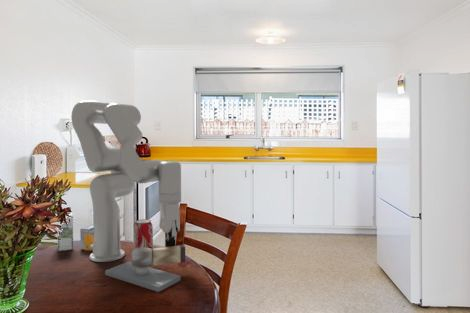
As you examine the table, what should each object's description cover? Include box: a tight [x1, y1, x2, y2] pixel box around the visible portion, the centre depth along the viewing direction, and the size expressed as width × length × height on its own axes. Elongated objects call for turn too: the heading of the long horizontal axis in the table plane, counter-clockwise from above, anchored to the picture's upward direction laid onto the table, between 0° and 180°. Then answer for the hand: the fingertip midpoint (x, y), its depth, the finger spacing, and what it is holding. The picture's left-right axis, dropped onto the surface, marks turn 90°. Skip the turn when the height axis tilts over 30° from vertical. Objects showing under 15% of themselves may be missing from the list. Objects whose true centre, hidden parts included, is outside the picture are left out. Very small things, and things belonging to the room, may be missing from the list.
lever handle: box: [131, 244, 186, 268], centre depth 116 cm, size 17×6×5 cm, turn 110°
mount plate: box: [104, 261, 182, 293], centre depth 115 cm, size 24×10×4 cm, turn 58°
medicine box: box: [79, 223, 94, 251], centre depth 145 cm, size 8×4×9 cm, turn 164°
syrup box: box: [57, 212, 74, 252], centre depth 143 cm, size 6×6×14 cm
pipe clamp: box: [84, 234, 94, 251], centre depth 143 cm, size 12×4×6 cm, turn 88°
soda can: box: [134, 218, 154, 250], centre depth 142 cm, size 7×7×12 cm
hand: (170, 250), depth 121 cm, fingers closed
